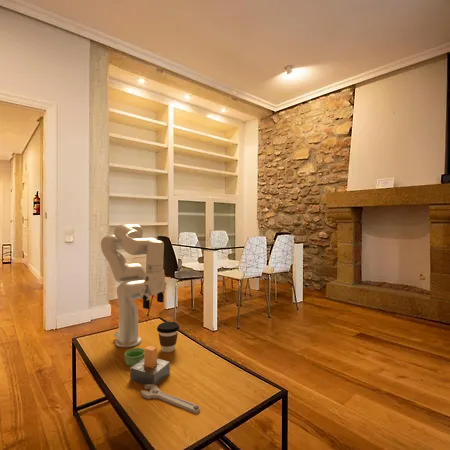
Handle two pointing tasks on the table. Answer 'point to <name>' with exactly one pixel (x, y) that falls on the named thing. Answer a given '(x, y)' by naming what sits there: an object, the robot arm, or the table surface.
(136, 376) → the grey square frame
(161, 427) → the table surface
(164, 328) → the coffee cup
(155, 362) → the orange square peg
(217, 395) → the table surface
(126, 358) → the ramekin
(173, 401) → the adjustable wrench
